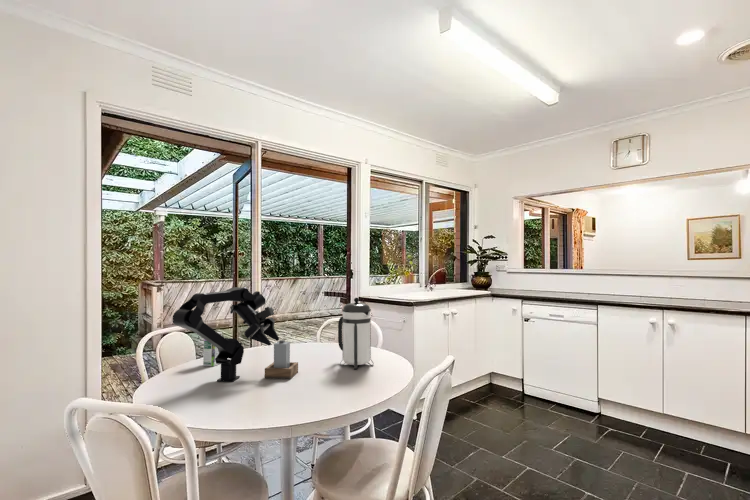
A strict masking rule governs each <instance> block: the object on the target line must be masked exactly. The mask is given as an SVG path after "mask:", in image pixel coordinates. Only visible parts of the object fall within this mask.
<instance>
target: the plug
mask: <svg viewBox="0 0 750 500" xmlns="http://www.w3.org/2000/svg"><path fill="white" fill-rule="evenodd" d="M273 362H274V368H289V367H290V362H291V341H285V339H279V340H278V341H277V342H275V343H273Z"/></svg>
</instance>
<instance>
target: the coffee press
mask: <svg viewBox="0 0 750 500" xmlns="http://www.w3.org/2000/svg"><path fill="white" fill-rule="evenodd" d="M353 301H354V302H352V303H350V302H349V303H346V304H345V305H344V306H343V308H342V310H341V312H342V316H341V317H340V318H339V320H338V323H337V324H338V325H337V335H338V336H337V341H338V347H339V348H340V350H341V351H342V359H341V360H340V363H339V366H341V367H343V366H344V365H345V364H347V365H351V366H353V370H357V371H358V366H363V365H366V364H368V365H369V366H371V365H374V363H375V362H374V361H373V360H372V346H371V345H372V338H371V337H372V335H371V334H372V331H371V329H372V328H371V327H372V325H371V321H372V320H371V318H372V317H371V312H372V309H371V307H370V306H369V304H367V303H365V302H364V303H363V302H360V299H359V297H355V298H354V299H353ZM370 361H371V363H372V364H371V363H370ZM342 362H343V364H342Z"/></svg>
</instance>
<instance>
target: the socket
mask: <svg viewBox="0 0 750 500" xmlns="http://www.w3.org/2000/svg"><path fill="white" fill-rule="evenodd" d="M298 373H299V362H293V361H290V367H289V368H274V361H273V362H272V363H270V364H269V365H267V366H266V367H265V368H264V380H292V379H293V378H294V377H295V376H296V375H297V374H298Z"/></svg>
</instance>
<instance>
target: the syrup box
mask: <svg viewBox="0 0 750 500" xmlns="http://www.w3.org/2000/svg"><path fill="white" fill-rule="evenodd" d="M216 332H217V333H219V334H220V335H221V336H223V332H222V331H216ZM218 354H219V351H218V348H217V347H215V346H214V345H212V344H211V343H209V342H208V341H206V340H205V339H204V338H203V358H202V366H203V367H204V366H205V367H215V366H218V365H220V364H217V363H216V361H215V358H216V357H217V356H218Z"/></svg>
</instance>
